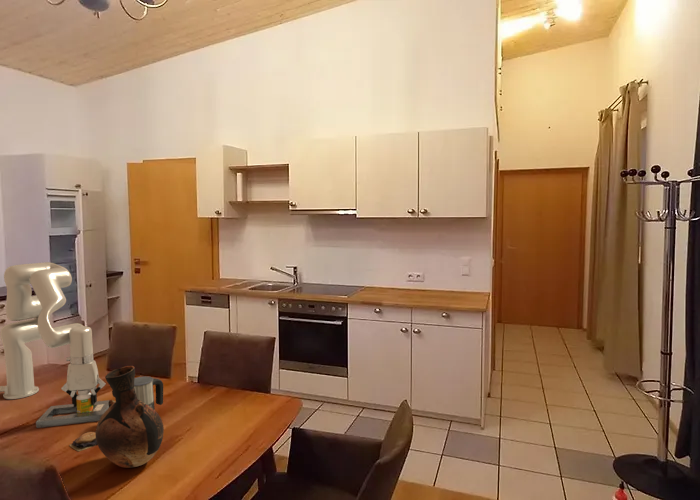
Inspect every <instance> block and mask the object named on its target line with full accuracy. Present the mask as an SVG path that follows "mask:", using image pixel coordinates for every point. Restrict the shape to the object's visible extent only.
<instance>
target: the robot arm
mask: <svg viewBox="0 0 700 500" xmlns="http://www.w3.org/2000/svg"><path fill="white" fill-rule="evenodd" d="M3 279H4V280H3V281H4V284H5V286H6V303H5V304H6V306H5V308H6V309H5V314H6V318H7V319H8V320H9V321H11V322H12V323H8V324H6V325H4V326H3V327H2V328H1V329H0V339H1V344H2V346H3V347H2V348H3V351H4V362H5V364H4V365H5V375H6V384H5V385H0V393H3V392H4V393H3V395H2V396H3V398H4V399H6V400H17V399H22V398H27V397H31V396H33V395H35V394H36V393H38V392H39V390H40V388H39V386H36V385H35V377H34V376H35V375H34V365H33V364H34V363H33V352H32V350H31V349H30V348H29V347H28V346H27V345H26V344H28V343H29V342H31V343H32V342H35V341H39V340H42V341H43V342H44V344H45V346H46V347H48V348H51V349H56V348H59V347H62V346H66V345H69V355H70V356H67V357H66V358H65V359H66V361H67V362H70V363H69V364H67V372H66V373H67V375H66V383H64V384H63V386H61V390H62V391H64V393H65V392H66V394H67V395H68V396H70V398H71V404H74V407H76V406H77V402H76V397H77V395H78V390H87V389H90V393H92V395H91V405H94V404H95V403H96V402H97V401H98V396H97V394H98V392H99V391H101V389H102V388H104V387H105V386H106V382H105V381H104V380H103V379H101V378H100V376H99V369H98V366H97V365H98V364H97V362H96V360H94V344H93V331H92V330H93V329H92V328H91V327H90V326H84V325H83V324H82V323H80V322H79V323H78V322H76V323H70V324H65V325H60V326H55V327H52V325H51V323H50V319H51V318H50V317H51V314H53V313H55V312H56V311H58V310H59V309H61V308H62V307H63V306H65V304H66V303H67V298H66V296H65V293H64V291H63V290H62V288H63V289H64V288H67V287H70V286H71V284H72V281H73V278H72V274H71V272H70V271H69V270H68V269H67V268H66V267H65V266H61V265H60V264H59V265H58V264H56V263H54V262H45V261H44V262H36V263H35V262H34V263H24V264H16V265H10V266H9V267H8V266H7V268H6V269H5V271H4V273H3ZM32 289H33V290H32ZM32 291H34V294H35V295H33V296H32ZM97 385H98V386H97Z"/></svg>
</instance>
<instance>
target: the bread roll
mask: <svg viewBox="0 0 700 500" xmlns="http://www.w3.org/2000/svg"><path fill="white" fill-rule="evenodd" d="M68 446H69V447H70V448H71V449H73V450H75V451H77V453H78V452H82V451H84V450H87V449H89V448H93V447H96V446H98V445H97V442H96V431H87V432H85V433H83V434H81V435H80V436H79V437H77V438H76V439H75V440H73V441H72V443H70V444H69V445H68Z"/></svg>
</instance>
